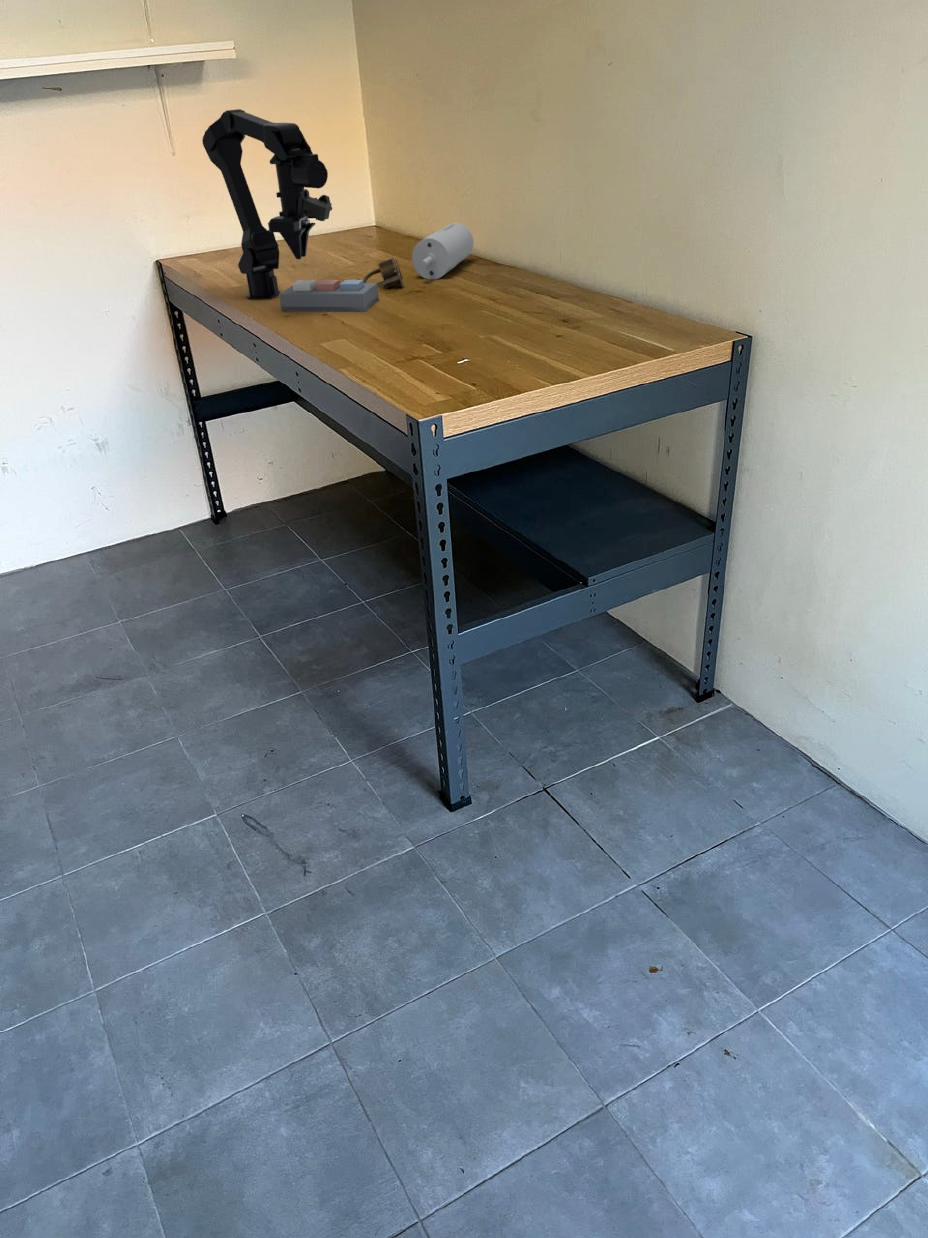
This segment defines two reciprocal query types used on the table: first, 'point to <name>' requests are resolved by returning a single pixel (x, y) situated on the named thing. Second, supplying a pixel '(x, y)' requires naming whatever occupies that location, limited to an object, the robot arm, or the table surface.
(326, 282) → the red key
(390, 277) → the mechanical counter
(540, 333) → the table surface
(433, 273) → the motor
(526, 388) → the table surface
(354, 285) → the blue key
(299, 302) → the key panel
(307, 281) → the white key
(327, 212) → the robot arm
